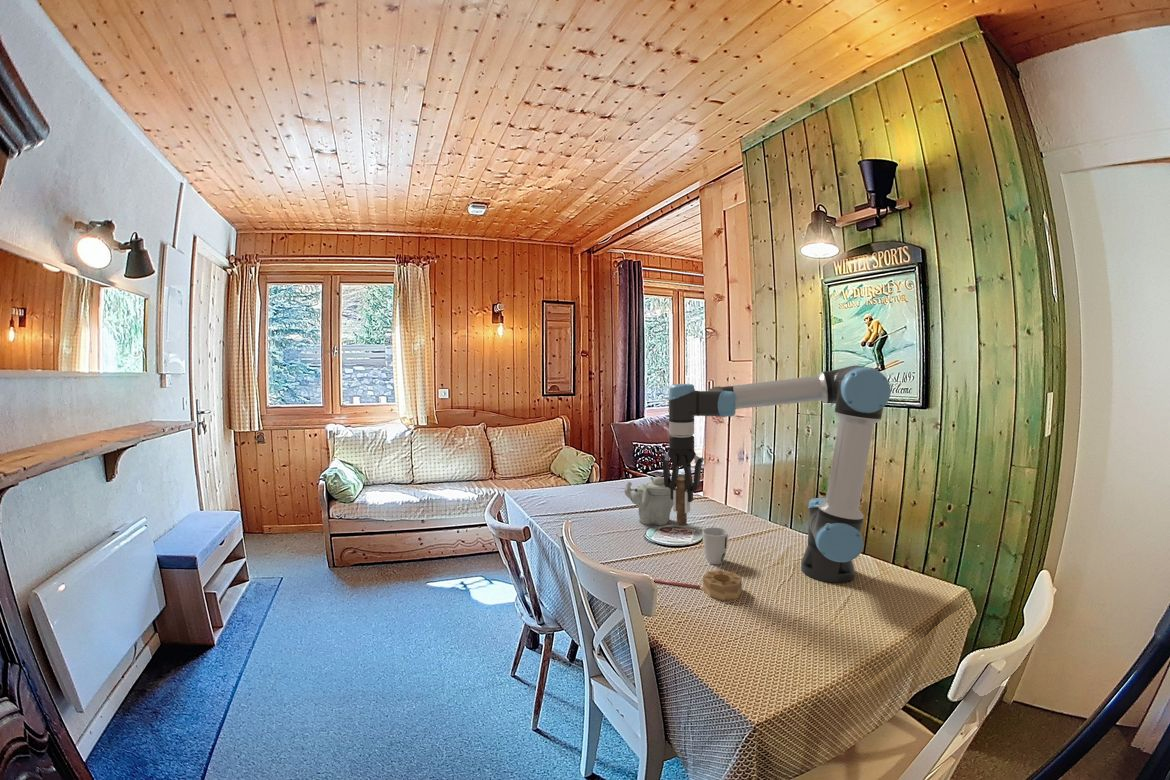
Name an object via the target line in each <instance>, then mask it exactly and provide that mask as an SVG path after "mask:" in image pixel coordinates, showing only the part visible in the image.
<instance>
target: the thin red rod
mask: <svg viewBox="0 0 1170 780" xmlns="http://www.w3.org/2000/svg"><path fill="white" fill-rule="evenodd" d="M653 579H654V581H655V582H654V583H658V584H664V585H665V584H666V585H667V584H668V585H674V586H679V587H686V588H693V589H701V585H698V584H691V583H683V582H676V581H669V580H663V579H656V578H653Z"/></svg>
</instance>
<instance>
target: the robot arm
mask: <svg viewBox="0 0 1170 780" xmlns="http://www.w3.org/2000/svg"><path fill="white" fill-rule="evenodd" d="M668 388H669V391H668V434H669V437H668V447H669V448H668V451H667V453H663V454H661V455H660V457H659V458H660V460H661V465H662V473H663V478H664V485H665V487H668V488H670V490H671V500H673V507H672V508H673V512H676V513H677V477H678V475H679V471H680V466H681V467H683V472H684V475H685V479H686V486H687V491H685V513H687V514H688V513H690V512H691V503H692V502H693V501H694V492H695V491H698V490H699V489H700V487H701V486H700V483H701V472H702V465H703V463H704V462H705V461H704V460H705V459H704V457H699V456H698V455H697V454H696V451H695V435H694V434H695V417H696V416H697V417H719V418H720V417H721V418H725V417H734V416H735V415H736V410H740V409H748V408H749V409H750V408H760V407H771V406H780V405H789V404H799V403H802V404H803V403H809V402H811V403H812V402H820V401H821V402H823V403H824V404H832V403H833V404H835V407H834V414H835V415H836V416H837V418H838V426H837V431H836V436H835V443H834V447H833V448H834V449H833V455H832V460H831V466H830V472H829V478H828V485H827V489H826V495H825V497H815V498H811V499H810V500H809V501H808V507H807V509H808V517H807V518H808V519H807V520H808V521H807V522H808V523H807V546H806V549H805V551H804V554H803V557H802V559H801V563H800V570H801V571H802V572H803V573H804V575H805V576H808V577H810V578H811V579H814V580H818V581H822V582H827V583H834V584H835V583H836V584H838V583H839V584H840V583H848V582H852V581H853V580H854V579H855V576H856V575H855V574H856V569H855V566H854V563H853V560H855V559H857V558H858V557H859V556H860V555H861V553H862V552H863V549H864V539H863V538H864V537H863V535H862V529H863V524H864V518H865V516H864V514H863V512H862V511H861V510H860V506H861V505H860V503H861V498H862V492H863V487H864V481H865V476H866V471H867V470H866V469H867V464H868V460H869V454H870V447H871V441H872V436H873V433H874V431H873V430H874V425H876V423H878V422H880V421H881V420H882V417H883V411H884V407H885V406H886V405H887V404H888V402H889V400H890V397H891V393H892V391H891V390H892V389H891V384H890V382H889V380H888V379H887V377H886V375H884V374H883V373H882V371H881V372H880V370H877V369H875V368H874V367H869V366H861V365H850V366H846V367H845V366H844V367H842V368H837V369H833V370H828V371H827V370H826V371H821V372H820V373H819V374H818V375H813V376H804V377H797V378H795V377H794V378H787V379H778V380H770V381H769V380H768V381H760V382H754V383H744V384H736V385H728V386H727V385H726V386H719V385H718V386H713V387H712V388H709V389H708V390H696V389H695V385H694V384H691V383H675V384H672V385H670V386H669V387H668ZM670 460H671V461H672V467H670ZM692 462H694V464H695V465H694V473H693V475H692V469H691V468H692ZM670 468H672V470H670ZM671 471H672V472H671Z"/></svg>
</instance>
